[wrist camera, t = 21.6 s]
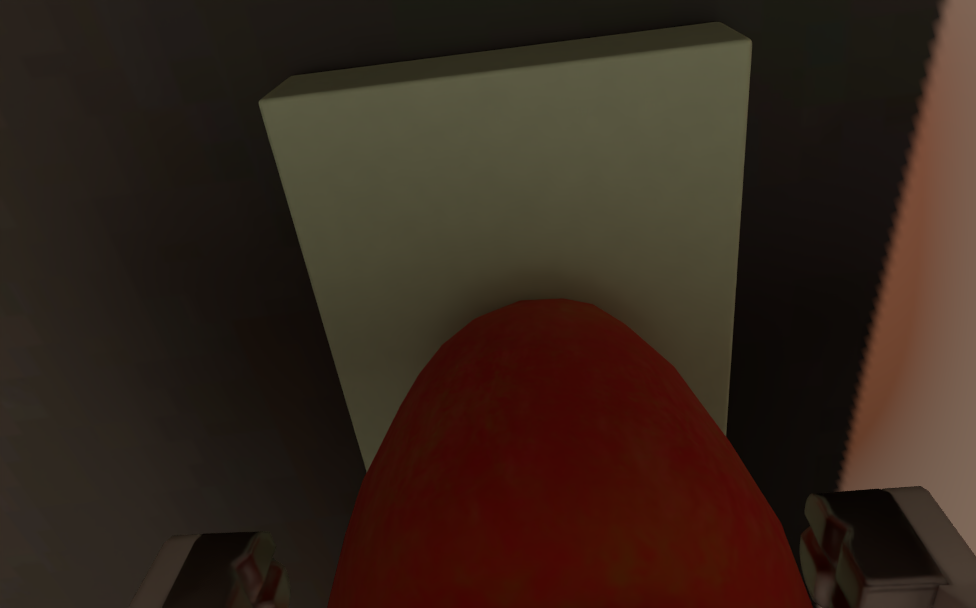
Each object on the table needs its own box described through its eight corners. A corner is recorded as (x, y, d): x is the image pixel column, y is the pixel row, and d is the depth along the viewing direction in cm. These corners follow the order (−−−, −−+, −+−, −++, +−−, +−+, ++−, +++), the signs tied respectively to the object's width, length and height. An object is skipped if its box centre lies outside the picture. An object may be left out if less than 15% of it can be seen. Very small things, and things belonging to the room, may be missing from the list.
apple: (481, 518, 16) (462, 933, 10) (327, 323, 13) (156, 716, 7) (741, 422, 14) (931, 849, 8) (624, 177, 12) (766, 517, 5)
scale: (697, 574, 20) (730, 696, 17) (397, 591, 20) (377, 709, 17) (721, 20, 12) (790, 58, 9) (244, 80, 13) (162, 134, 10)
